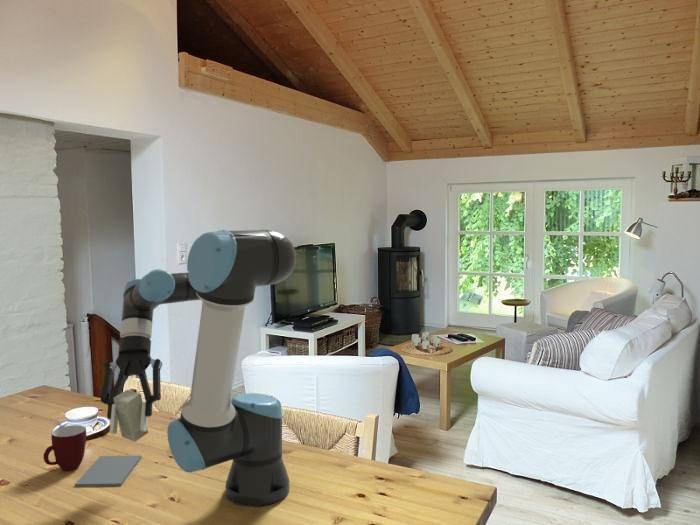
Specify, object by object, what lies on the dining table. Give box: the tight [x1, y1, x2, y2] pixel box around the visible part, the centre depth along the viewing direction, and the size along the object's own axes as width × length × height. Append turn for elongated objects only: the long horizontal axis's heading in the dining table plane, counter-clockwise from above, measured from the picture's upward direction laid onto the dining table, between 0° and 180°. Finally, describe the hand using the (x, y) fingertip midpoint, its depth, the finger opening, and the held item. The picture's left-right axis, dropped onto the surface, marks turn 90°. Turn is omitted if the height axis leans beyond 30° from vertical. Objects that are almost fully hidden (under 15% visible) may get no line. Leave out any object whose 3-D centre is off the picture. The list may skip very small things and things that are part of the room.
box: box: [114, 389, 149, 443], centre depth 141 cm, size 5×4×11 cm
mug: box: [43, 424, 87, 472], centre depth 149 cm, size 10×8×10 cm
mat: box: [74, 454, 142, 487], centre depth 149 cm, size 11×16×1 cm
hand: (128, 431), depth 138 cm, fingers closed on box, 6 cm apart
